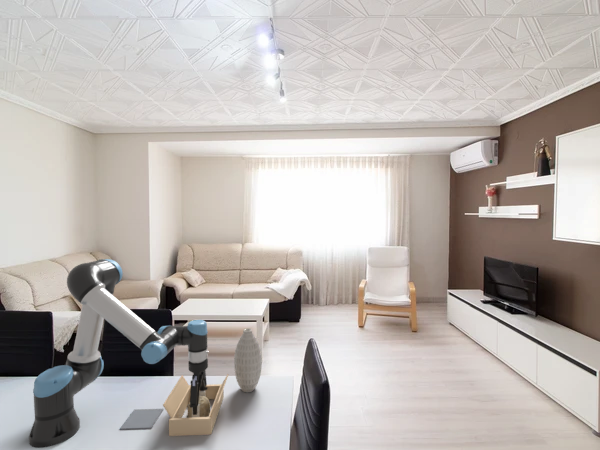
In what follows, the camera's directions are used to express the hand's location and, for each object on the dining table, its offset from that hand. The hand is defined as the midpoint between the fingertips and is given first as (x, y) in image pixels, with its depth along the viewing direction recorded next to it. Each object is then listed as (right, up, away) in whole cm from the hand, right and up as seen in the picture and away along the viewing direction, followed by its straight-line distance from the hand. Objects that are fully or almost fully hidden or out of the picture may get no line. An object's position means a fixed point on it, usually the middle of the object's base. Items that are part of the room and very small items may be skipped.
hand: (199, 413), depth 131 cm
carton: (0, -1, 0) cm, 1 cm away
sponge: (0, -1, 0) cm, 1 cm away
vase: (+17, 0, +19) cm, 26 cm away
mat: (-22, -1, -2) cm, 22 cm away
